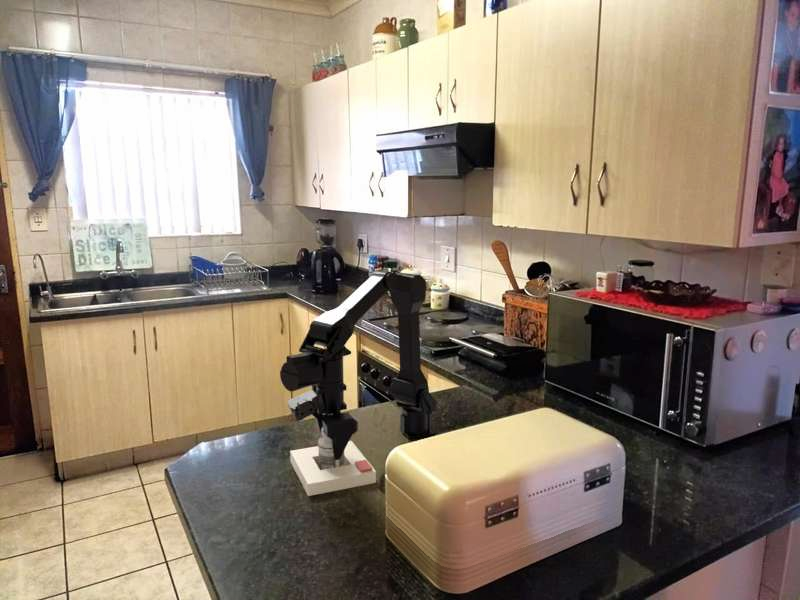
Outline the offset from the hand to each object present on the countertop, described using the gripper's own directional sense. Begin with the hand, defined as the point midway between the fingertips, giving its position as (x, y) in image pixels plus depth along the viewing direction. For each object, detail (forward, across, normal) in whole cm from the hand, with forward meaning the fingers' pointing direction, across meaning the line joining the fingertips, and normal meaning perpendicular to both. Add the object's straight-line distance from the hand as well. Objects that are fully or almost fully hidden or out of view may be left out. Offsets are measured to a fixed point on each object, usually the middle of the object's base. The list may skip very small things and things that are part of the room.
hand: (330, 450), depth 122 cm
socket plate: (+5, 0, 0) cm, 5 cm away
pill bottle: (+5, 0, 0) cm, 5 cm away
